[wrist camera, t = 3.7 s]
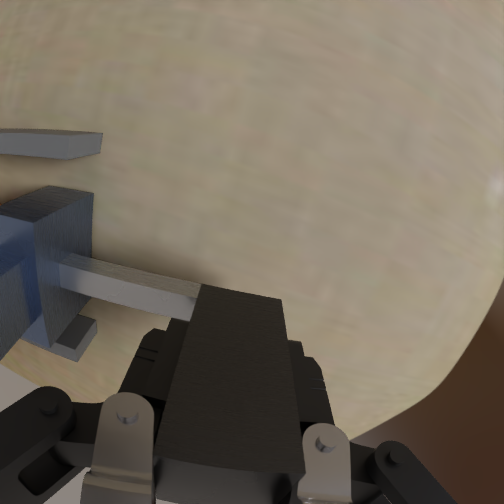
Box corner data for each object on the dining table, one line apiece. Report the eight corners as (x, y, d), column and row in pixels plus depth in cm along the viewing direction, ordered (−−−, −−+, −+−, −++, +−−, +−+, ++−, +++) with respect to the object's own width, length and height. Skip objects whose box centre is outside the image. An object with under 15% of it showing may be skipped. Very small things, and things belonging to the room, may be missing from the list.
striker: (49, 185, 13) (-114, 268, 3) (282, 231, 14) (337, 436, 4) (52, 283, 15) (-56, 402, 5) (254, 333, 16) (254, 524, 6)
